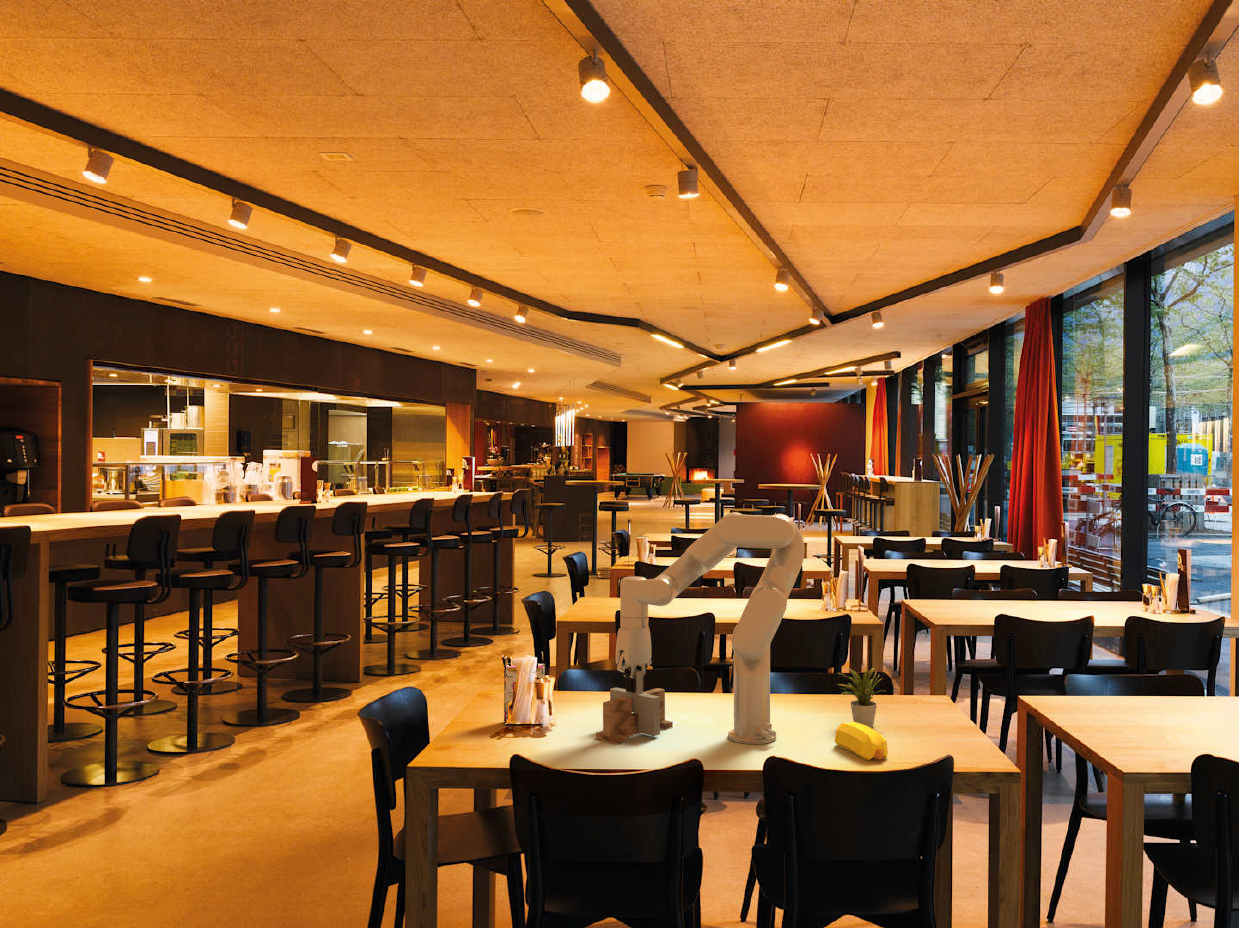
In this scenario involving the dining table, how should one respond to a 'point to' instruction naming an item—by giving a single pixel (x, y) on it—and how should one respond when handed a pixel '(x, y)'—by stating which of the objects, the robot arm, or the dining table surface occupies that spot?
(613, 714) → the walnut slotted stand
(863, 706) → the house plant
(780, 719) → the dining table surface
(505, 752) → the dining table surface
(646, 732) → the grey slotted plate
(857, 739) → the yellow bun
